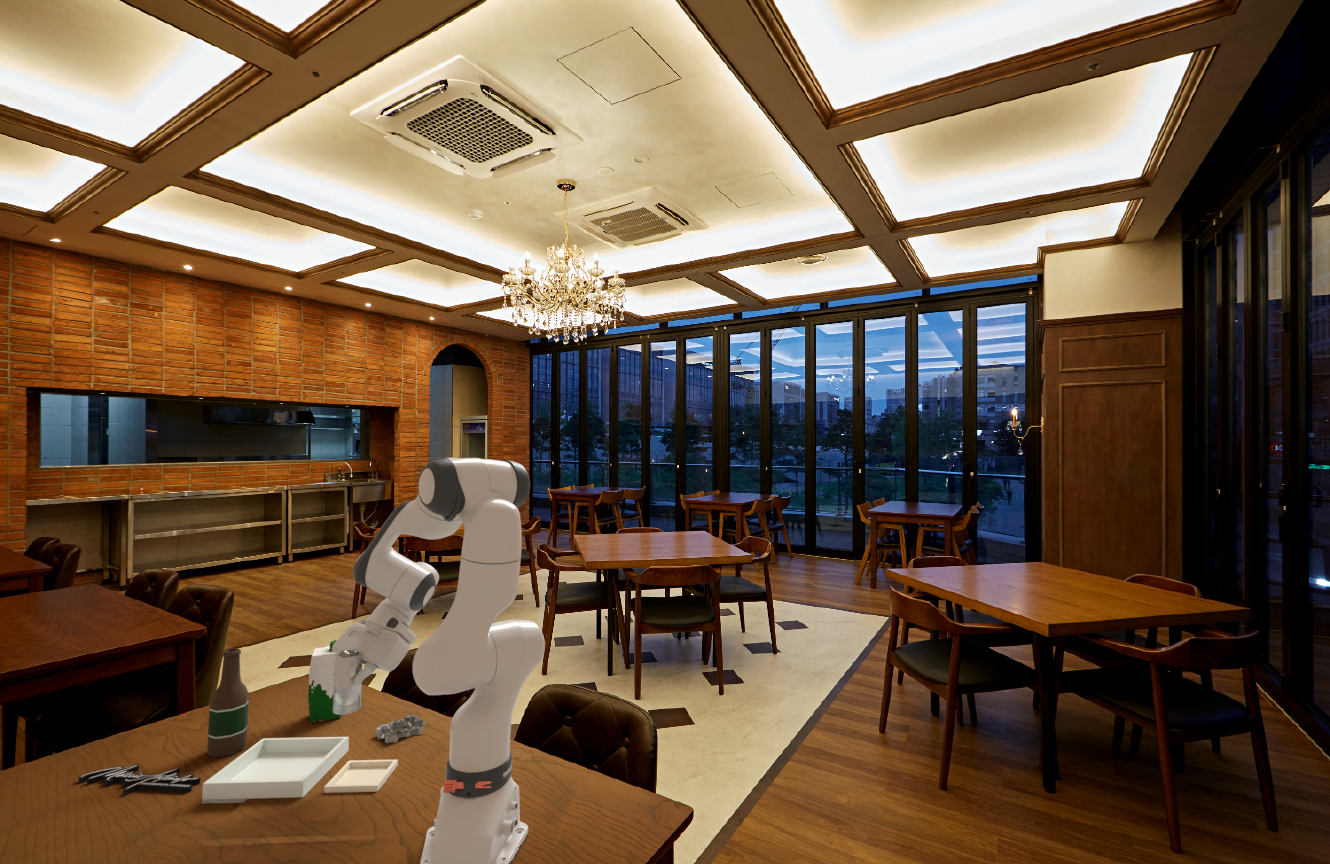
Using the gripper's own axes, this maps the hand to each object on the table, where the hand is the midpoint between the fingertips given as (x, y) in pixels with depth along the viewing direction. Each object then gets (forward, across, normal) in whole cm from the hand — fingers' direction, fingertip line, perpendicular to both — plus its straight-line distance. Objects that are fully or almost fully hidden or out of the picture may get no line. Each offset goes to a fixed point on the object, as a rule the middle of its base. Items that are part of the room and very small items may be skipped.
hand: (345, 680), depth 131 cm
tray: (+14, +4, +17) cm, 22 cm away
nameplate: (+32, -36, 0) cm, 49 cm away
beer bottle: (+20, -37, +12) cm, 44 cm away
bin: (+20, -13, +11) cm, 26 cm away
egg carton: (+2, -8, +30) cm, 31 cm away
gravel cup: (+4, 0, +5) cm, 7 cm away
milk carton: (+4, -36, +28) cm, 46 cm away
